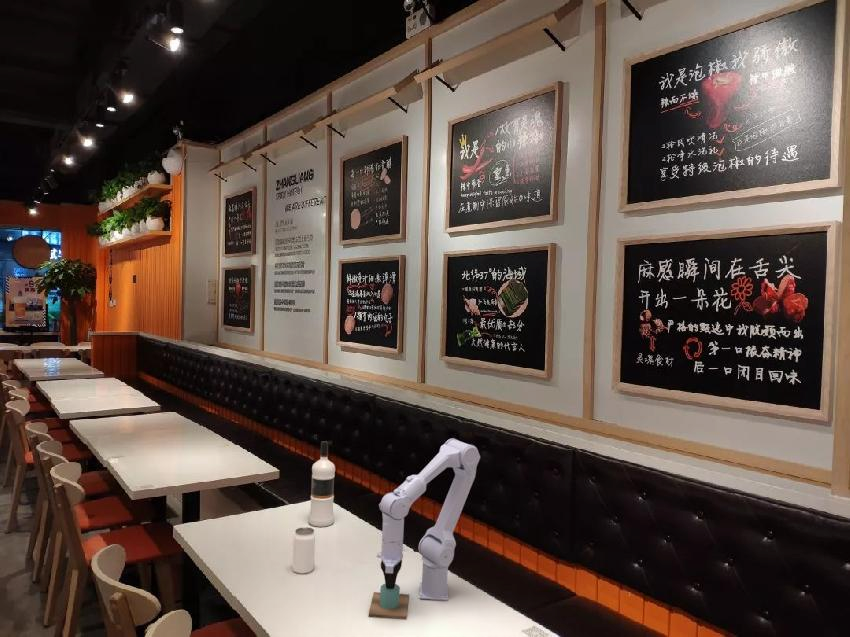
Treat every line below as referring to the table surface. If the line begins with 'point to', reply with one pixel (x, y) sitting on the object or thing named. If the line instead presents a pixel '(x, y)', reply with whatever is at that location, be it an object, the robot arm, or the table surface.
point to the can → (303, 550)
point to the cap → (389, 597)
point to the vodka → (322, 490)
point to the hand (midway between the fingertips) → (390, 587)
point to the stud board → (393, 613)
